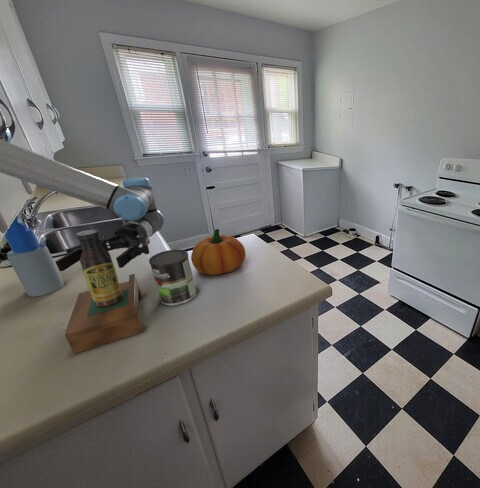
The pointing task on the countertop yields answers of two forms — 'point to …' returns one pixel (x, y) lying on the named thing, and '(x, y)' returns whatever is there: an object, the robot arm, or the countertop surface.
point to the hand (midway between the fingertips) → (89, 264)
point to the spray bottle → (31, 260)
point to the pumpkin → (218, 254)
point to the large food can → (173, 276)
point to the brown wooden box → (104, 319)
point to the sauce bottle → (98, 270)
